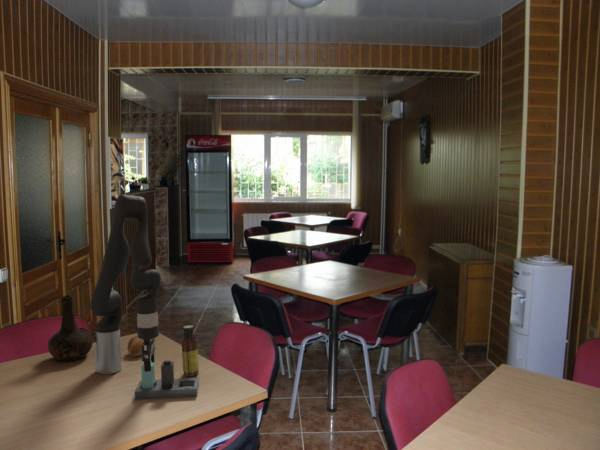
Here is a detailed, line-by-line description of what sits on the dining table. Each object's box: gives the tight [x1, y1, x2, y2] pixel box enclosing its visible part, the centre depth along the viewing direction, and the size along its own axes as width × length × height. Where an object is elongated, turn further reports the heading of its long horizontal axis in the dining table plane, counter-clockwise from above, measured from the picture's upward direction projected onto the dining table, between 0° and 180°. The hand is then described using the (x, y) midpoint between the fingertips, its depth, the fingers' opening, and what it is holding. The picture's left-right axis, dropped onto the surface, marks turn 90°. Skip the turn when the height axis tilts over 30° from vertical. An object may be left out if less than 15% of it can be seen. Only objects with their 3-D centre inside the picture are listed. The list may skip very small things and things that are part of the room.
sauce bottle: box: [181, 324, 200, 377], centre depth 204 cm, size 7×6×20 cm
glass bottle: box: [47, 294, 94, 362], centre depth 222 cm, size 18×18×28 cm
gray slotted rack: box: [134, 359, 200, 401], centre depth 187 cm, size 22×10×12 cm, turn 97°
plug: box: [141, 361, 156, 389], centre depth 187 cm, size 4×4×12 cm
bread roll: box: [127, 334, 144, 358], centre depth 230 cm, size 10×15×8 cm, turn 173°
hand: (149, 367), depth 186 cm, fingers open, 8 cm apart
